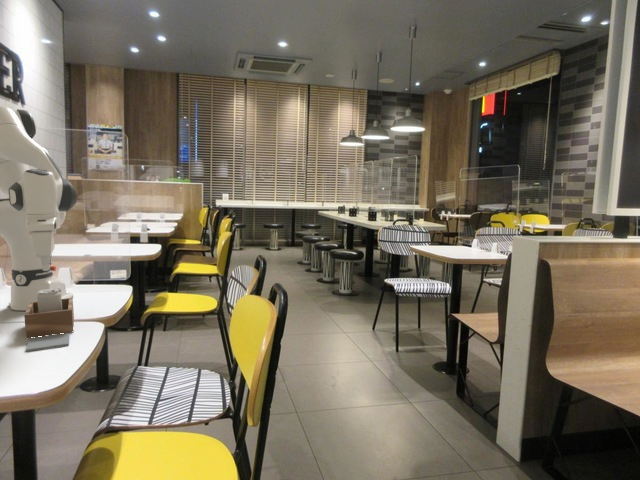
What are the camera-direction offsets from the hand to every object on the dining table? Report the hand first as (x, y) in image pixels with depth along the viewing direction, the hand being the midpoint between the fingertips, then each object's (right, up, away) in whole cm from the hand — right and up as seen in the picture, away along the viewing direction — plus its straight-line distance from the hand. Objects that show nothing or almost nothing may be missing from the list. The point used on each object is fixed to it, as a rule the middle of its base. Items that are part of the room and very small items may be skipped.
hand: (47, 267), depth 135 cm
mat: (+7, -21, -10) cm, 24 cm away
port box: (0, -19, +3) cm, 19 cm away
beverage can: (0, -19, +3) cm, 19 cm away
